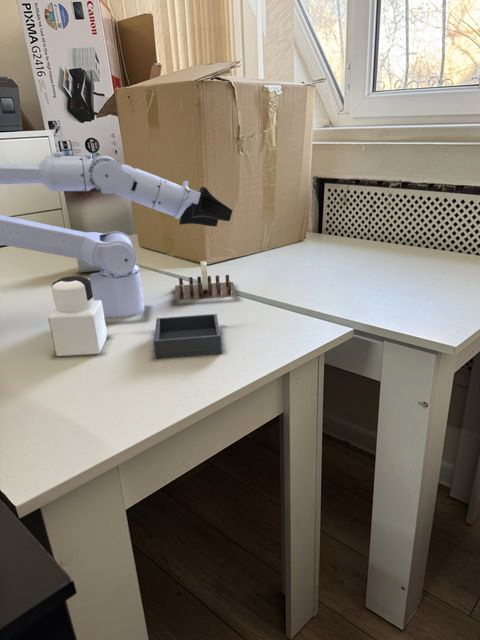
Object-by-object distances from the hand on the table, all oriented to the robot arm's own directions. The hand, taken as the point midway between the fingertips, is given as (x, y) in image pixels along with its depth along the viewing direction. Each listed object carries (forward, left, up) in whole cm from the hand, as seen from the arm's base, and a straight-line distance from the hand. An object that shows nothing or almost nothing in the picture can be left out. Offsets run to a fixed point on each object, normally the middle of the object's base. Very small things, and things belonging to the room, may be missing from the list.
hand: (223, 218), depth 98 cm
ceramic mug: (-31, +32, -14) cm, 47 cm away
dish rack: (-4, +6, -17) cm, 19 cm away
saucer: (-4, +6, -16) cm, 18 cm away
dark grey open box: (-8, -19, -17) cm, 27 cm away
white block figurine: (-26, -17, -17) cm, 36 cm away
